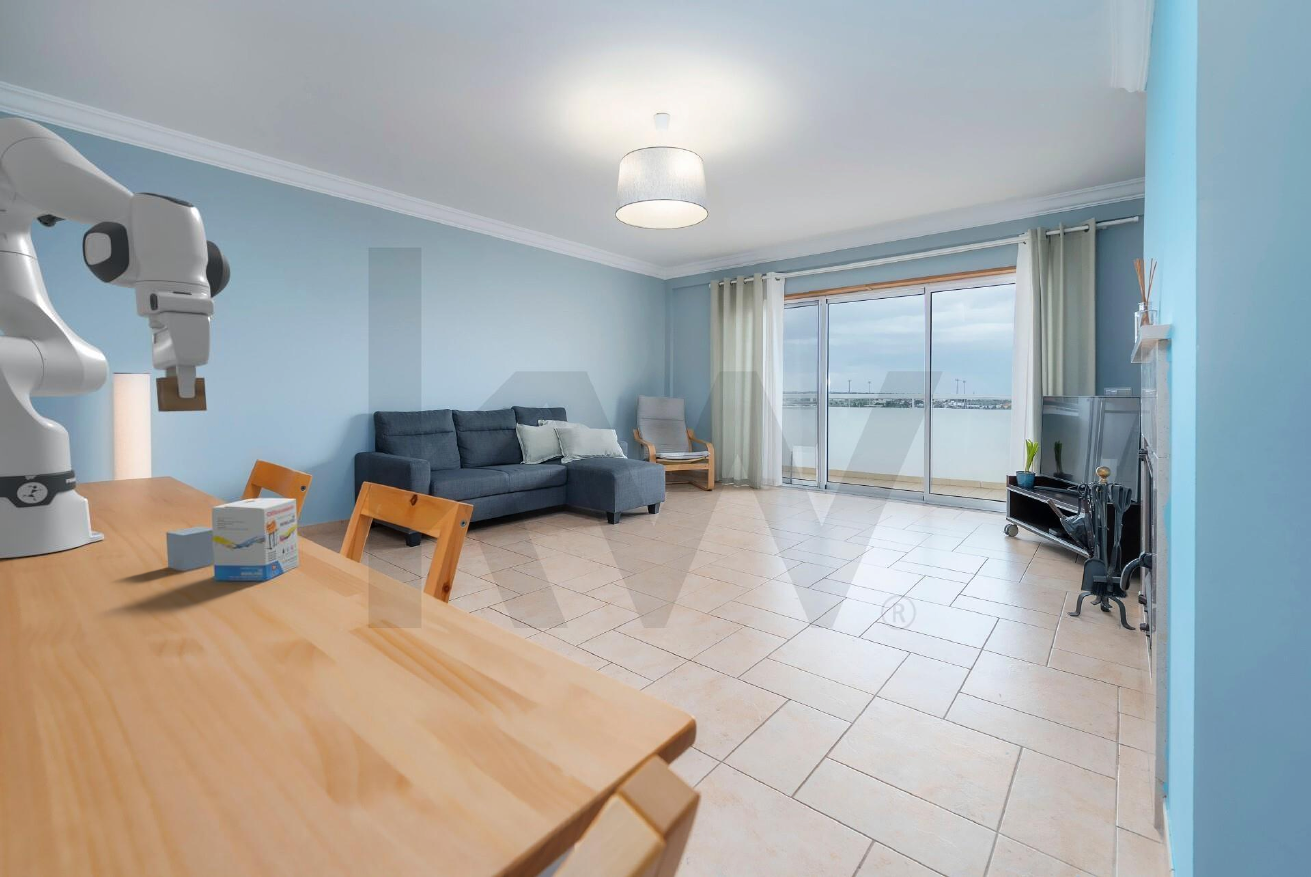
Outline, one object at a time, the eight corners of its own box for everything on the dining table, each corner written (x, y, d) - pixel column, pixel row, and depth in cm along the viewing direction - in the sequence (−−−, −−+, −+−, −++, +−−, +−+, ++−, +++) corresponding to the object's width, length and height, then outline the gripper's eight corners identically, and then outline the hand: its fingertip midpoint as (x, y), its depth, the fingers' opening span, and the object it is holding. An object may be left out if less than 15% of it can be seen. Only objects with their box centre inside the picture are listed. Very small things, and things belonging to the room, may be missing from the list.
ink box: (266, 582, 92) (263, 507, 91) (212, 581, 92) (208, 506, 91) (301, 565, 100) (298, 497, 99) (251, 565, 100) (248, 496, 100)
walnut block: (158, 411, 90) (155, 378, 90) (199, 410, 94) (196, 378, 93) (164, 411, 87) (162, 377, 86) (206, 410, 90) (204, 377, 90)
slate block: (168, 567, 99) (166, 532, 98) (201, 560, 103) (200, 526, 103) (184, 571, 97) (182, 535, 96) (218, 563, 101) (216, 529, 101)
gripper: (136, 311, 94) (143, 399, 95) (160, 295, 80) (168, 397, 81) (186, 315, 98) (192, 398, 99) (217, 300, 85) (224, 397, 86)
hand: (181, 398), depth 90 cm, fingers closed on walnut block, 5 cm apart
